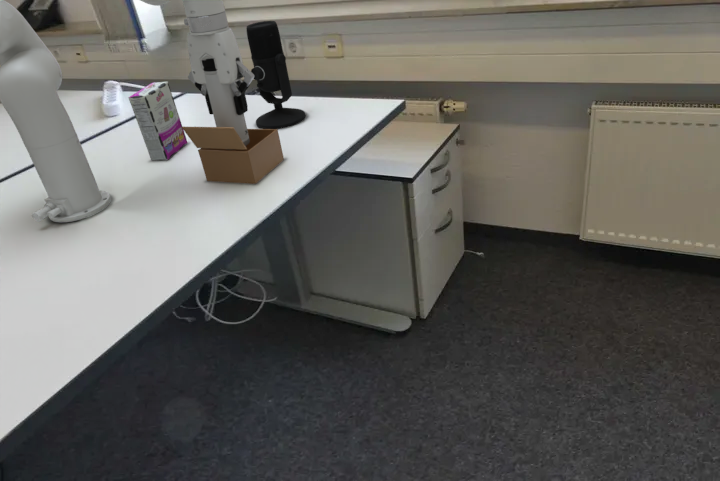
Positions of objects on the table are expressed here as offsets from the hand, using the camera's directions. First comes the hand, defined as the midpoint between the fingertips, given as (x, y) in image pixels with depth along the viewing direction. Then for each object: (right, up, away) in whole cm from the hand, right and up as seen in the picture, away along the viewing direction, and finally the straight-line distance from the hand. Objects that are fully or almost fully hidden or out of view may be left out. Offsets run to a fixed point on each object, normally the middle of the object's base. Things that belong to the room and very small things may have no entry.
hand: (228, 111), depth 120 cm
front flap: (-2, -6, -4) cm, 8 cm away
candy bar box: (-20, -5, +24) cm, 32 cm away
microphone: (+6, +5, +34) cm, 35 cm away
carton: (+2, -11, +7) cm, 14 cm away
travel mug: (+1, -6, +4) cm, 8 cm away
